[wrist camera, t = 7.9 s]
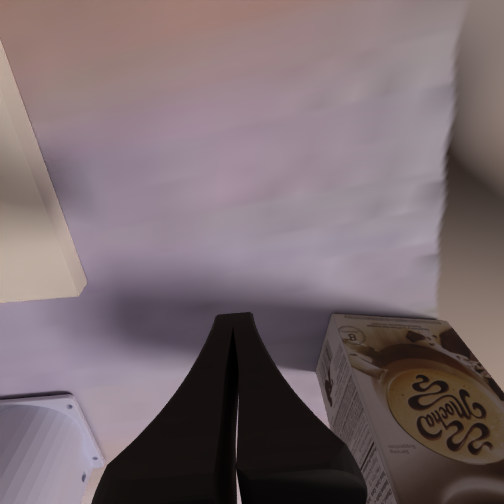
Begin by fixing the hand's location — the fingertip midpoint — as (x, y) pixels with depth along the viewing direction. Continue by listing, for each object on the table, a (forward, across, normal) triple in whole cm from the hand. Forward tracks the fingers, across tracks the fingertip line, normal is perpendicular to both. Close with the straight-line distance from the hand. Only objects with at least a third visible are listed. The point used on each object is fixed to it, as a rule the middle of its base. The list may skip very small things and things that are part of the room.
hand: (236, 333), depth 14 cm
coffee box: (+10, -10, +11) cm, 18 cm away
